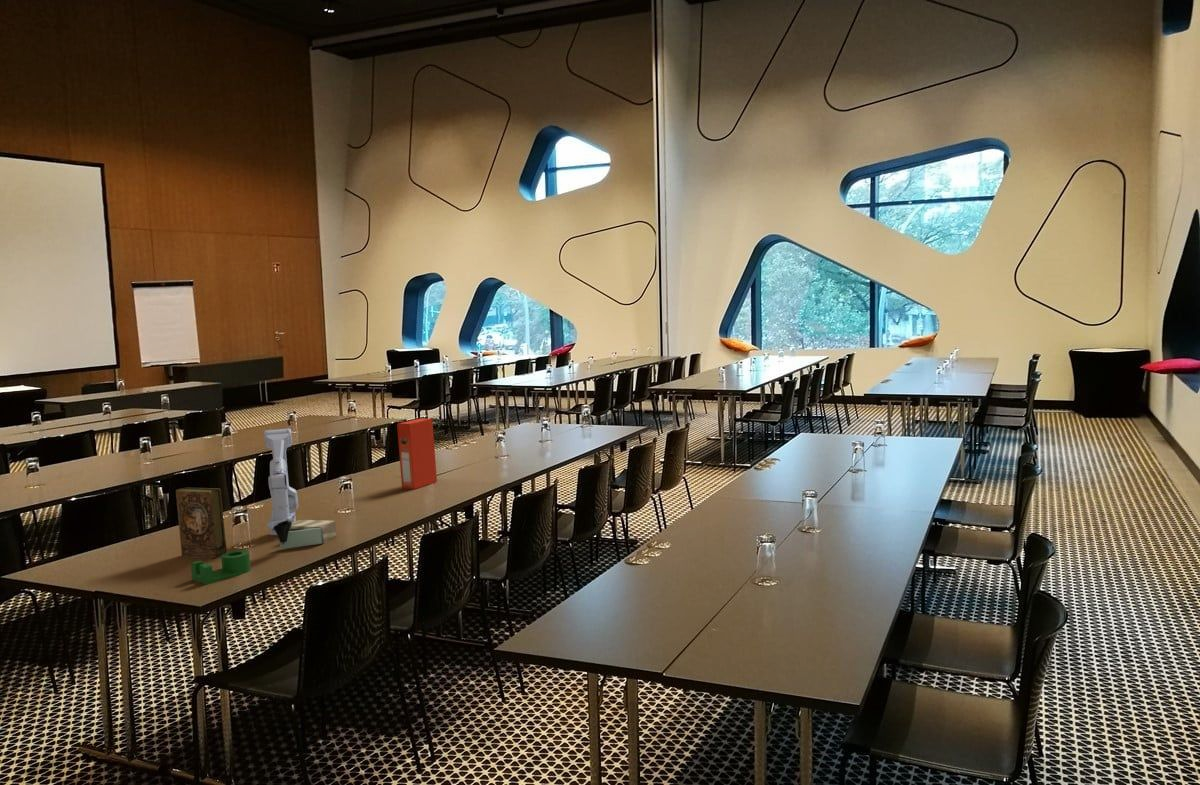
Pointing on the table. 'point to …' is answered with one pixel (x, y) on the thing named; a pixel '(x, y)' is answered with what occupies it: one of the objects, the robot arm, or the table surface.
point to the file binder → (417, 453)
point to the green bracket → (231, 566)
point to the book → (201, 522)
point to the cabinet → (327, 527)
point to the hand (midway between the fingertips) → (283, 541)
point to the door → (303, 538)
